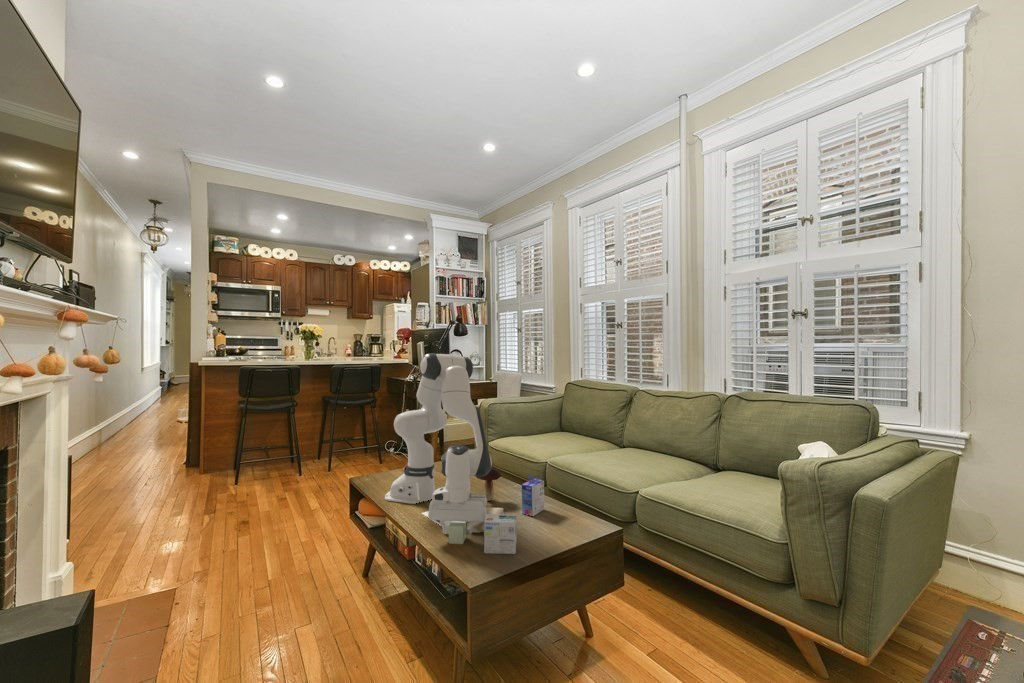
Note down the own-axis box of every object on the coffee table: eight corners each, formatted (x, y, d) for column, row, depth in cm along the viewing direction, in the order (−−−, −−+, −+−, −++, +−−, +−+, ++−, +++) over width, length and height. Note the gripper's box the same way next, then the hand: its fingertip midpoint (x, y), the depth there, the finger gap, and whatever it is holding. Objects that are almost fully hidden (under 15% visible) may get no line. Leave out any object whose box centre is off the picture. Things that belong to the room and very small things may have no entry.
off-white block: (442, 533, 157) (442, 520, 157) (445, 528, 162) (446, 514, 162) (456, 534, 156) (456, 520, 156) (459, 528, 161) (459, 515, 161)
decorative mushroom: (491, 507, 182) (491, 471, 182) (470, 501, 188) (471, 467, 188) (506, 499, 191) (506, 465, 191) (486, 494, 197) (486, 461, 197)
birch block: (466, 532, 158) (466, 519, 158) (472, 519, 170) (473, 506, 170) (499, 534, 157) (499, 520, 157) (503, 520, 169) (503, 508, 169)
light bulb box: (516, 545, 148) (516, 513, 148) (516, 554, 142) (516, 521, 142) (485, 544, 149) (485, 512, 149) (483, 553, 142) (483, 521, 142)
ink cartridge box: (533, 506, 183) (533, 472, 184) (544, 509, 180) (545, 474, 180) (520, 514, 175) (521, 478, 175) (532, 517, 172) (533, 480, 172)
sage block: (448, 543, 149) (448, 525, 149) (452, 536, 154) (452, 520, 154) (462, 544, 149) (463, 526, 149) (465, 537, 154) (466, 520, 154)
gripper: (488, 491, 154) (488, 530, 154) (432, 488, 156) (431, 527, 156) (485, 497, 147) (485, 538, 147) (427, 495, 149) (426, 535, 149)
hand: (457, 532), depth 151 cm, fingers open, 7 cm apart
